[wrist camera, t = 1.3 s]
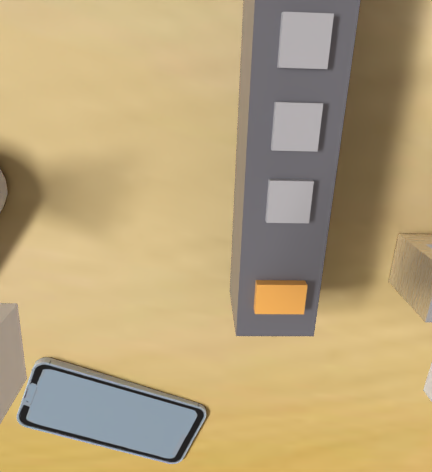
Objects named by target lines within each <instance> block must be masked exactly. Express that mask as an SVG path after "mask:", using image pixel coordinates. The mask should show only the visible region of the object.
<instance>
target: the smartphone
mask: <svg viewBox="0 0 432 472" xmlns="http://www.w3.org/2000/svg"><path fill="white" fill-rule="evenodd" d="M205 418H206V409H205V407H204V406H203V405H201V404H199V403H196V402H193V401H190V400H187V399H183V398H180V397H177V396H174V395H170V394H167V393H164V392H160V391H157V390H154V389H151V388H148V387H145V386H141V385H138V384H135V383H132V382H129V381H125V380H122V379H119V378H116V377H112V376H109V375H106V374H103V373H99V372H96V371H93V370H90V369H87V368H83V367H80V366H77V365H74V364H70V363H67V362H64V361H60V360H57V359H53V358H49V357H44V358H41V359H39V360H38V361H37V362H36V363H35V365H34V367H33V369H32V372H31V375H30V377H29V380H28V383H27V386H26V389H25V392H24V395H23V398H22V401H21V404H20V407H19V410H18V413H17V421H18V422H19V424H21V425H22V426H24V427H27V428H31V429H35V430H39V431H43V432H47V433H51V434H54V435H58V436H62V437H66V438H70V439H74V440H78V441H82V442H86V443H90V444H94V445H98V446H102V447H105V448H109V449H113V450H117V451H121V452H125V453H129V454H133V455H137V456H141V457H145V458H149V459H153V460H156V461H160V462H164V463H168V464H176V463H179V462H180V461H182V460H183V458H184V456H185V455H186V453H187V451H188V449H189V447H190V445H191V444H192V442H193V440H194V438H195V436H196V435H197V433H198V431H199V429H200V427H201V426H202V424H203V422H204V420H205Z"/></svg>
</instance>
